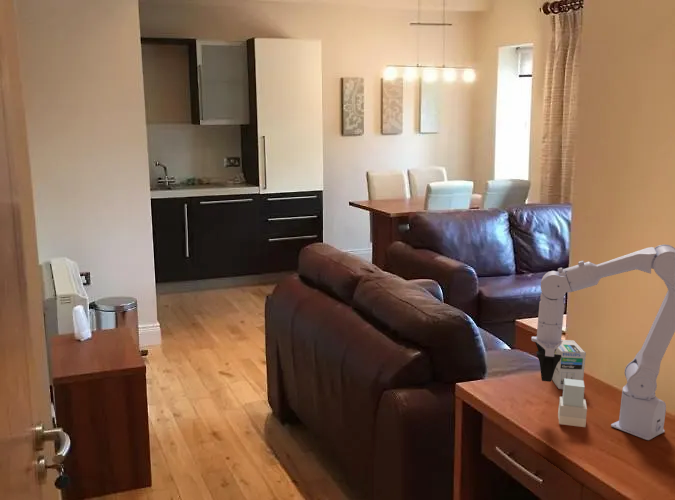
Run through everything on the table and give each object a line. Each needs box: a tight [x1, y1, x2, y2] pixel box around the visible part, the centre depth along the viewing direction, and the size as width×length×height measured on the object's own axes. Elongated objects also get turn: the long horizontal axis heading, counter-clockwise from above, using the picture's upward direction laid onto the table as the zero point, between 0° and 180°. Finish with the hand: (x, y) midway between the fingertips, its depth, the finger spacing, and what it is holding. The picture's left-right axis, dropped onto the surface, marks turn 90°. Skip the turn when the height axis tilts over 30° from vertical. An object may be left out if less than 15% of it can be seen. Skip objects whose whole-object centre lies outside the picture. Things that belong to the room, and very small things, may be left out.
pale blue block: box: [561, 378, 586, 407], centre depth 178 cm, size 4×4×5 cm
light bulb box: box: [551, 339, 587, 390], centre depth 203 cm, size 11×7×11 cm, turn 179°
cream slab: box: [557, 407, 587, 428], centre depth 179 cm, size 6×6×2 cm
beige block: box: [558, 396, 588, 420], centre depth 179 cm, size 6×6×2 cm
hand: (545, 375), depth 180 cm, fingers open, 7 cm apart
